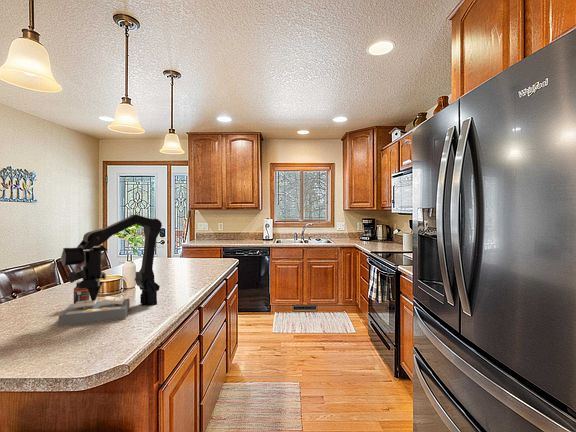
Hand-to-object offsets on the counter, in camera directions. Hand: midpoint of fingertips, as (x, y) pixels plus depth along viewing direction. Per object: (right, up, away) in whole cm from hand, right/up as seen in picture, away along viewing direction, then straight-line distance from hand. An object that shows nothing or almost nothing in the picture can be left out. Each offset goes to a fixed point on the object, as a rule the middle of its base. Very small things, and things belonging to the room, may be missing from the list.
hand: (93, 300), depth 125 cm
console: (+1, -6, 0) cm, 7 cm away
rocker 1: (-2, -1, -1) cm, 3 cm away
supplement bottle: (-14, -7, +13) cm, 20 cm away
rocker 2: (+7, -1, +3) cm, 7 cm away
